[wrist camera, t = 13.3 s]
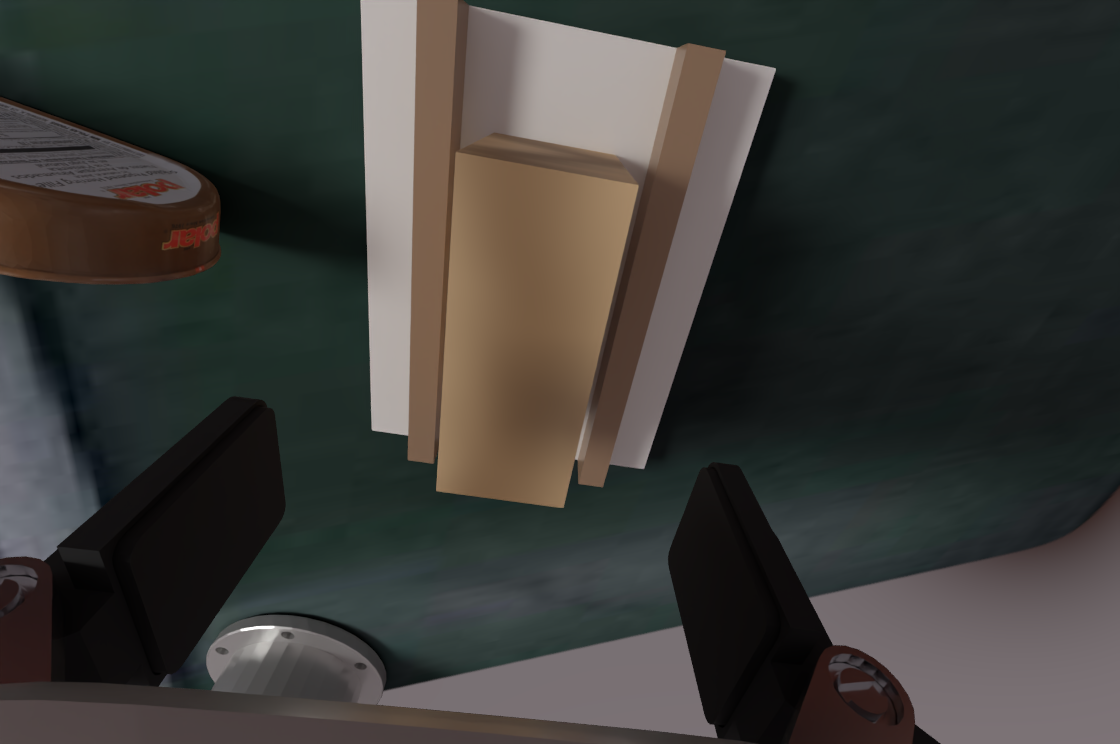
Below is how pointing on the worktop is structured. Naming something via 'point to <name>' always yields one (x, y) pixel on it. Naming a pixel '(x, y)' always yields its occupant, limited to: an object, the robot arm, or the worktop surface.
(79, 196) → the tin
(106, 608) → the robot arm
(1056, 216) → the worktop surface
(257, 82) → the worktop surface
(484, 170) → the oak block
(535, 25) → the cradle
